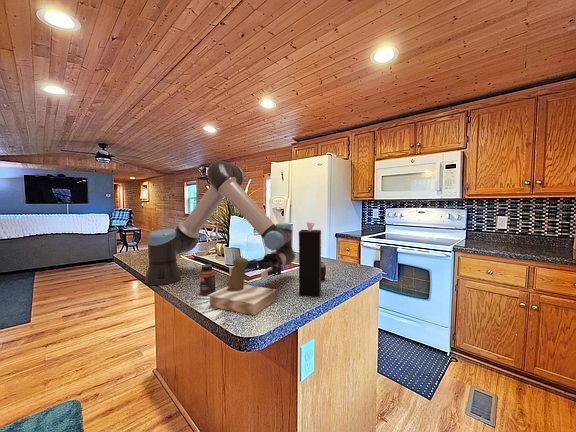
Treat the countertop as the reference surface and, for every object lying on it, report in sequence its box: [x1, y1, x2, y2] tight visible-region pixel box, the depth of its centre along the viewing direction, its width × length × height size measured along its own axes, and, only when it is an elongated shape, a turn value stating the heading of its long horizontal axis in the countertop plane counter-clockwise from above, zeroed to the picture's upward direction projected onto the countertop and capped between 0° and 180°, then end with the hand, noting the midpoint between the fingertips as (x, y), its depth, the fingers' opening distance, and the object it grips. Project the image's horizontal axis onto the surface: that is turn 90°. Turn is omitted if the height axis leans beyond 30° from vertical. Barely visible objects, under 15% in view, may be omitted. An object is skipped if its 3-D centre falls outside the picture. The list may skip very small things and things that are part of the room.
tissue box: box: [298, 222, 322, 297], centre depth 104 cm, size 8×8×28 cm
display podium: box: [207, 284, 277, 316], centre depth 94 cm, size 19×15×4 cm
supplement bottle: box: [199, 263, 217, 296], centre depth 104 cm, size 6×6×11 cm
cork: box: [226, 256, 249, 289], centre depth 98 cm, size 6×6×11 cm
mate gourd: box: [321, 261, 327, 281], centre depth 122 cm, size 8×8×15 cm
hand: (245, 273), depth 94 cm, fingers open, 13 cm apart
